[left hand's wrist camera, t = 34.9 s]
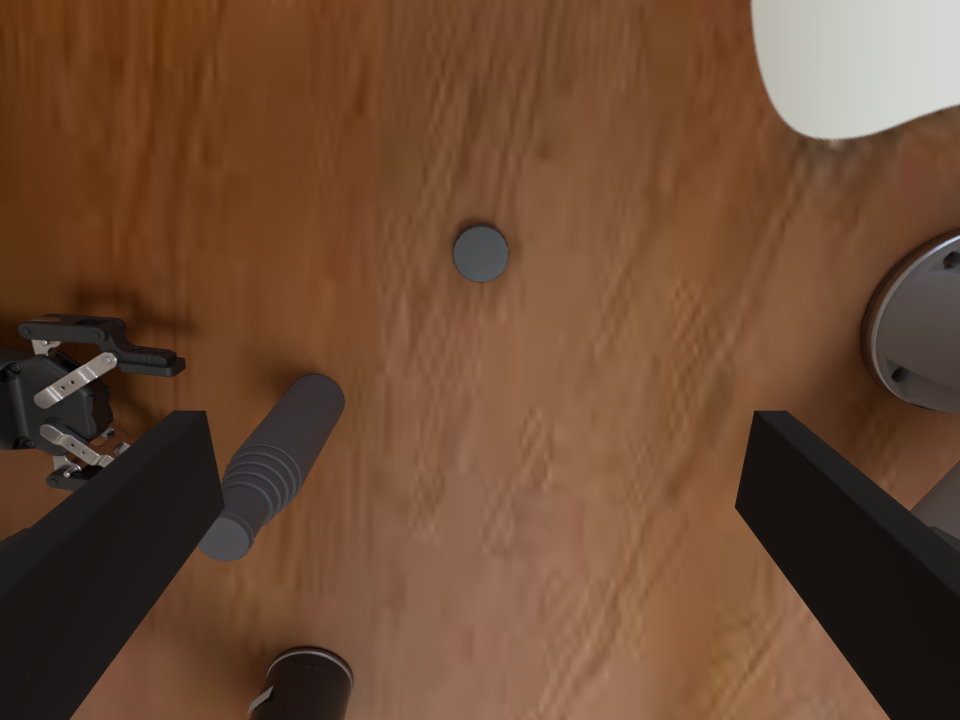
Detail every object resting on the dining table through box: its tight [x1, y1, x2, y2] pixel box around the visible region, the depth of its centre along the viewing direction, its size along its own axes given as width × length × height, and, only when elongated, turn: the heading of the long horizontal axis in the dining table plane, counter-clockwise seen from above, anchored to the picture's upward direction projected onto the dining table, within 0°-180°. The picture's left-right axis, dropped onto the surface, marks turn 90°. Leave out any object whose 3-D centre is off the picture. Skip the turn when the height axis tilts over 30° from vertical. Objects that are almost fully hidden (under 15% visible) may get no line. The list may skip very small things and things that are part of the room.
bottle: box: [198, 374, 344, 561], centre depth 38 cm, size 5×5×18 cm
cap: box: [453, 223, 509, 282], centre depth 41 cm, size 4×4×2 cm
